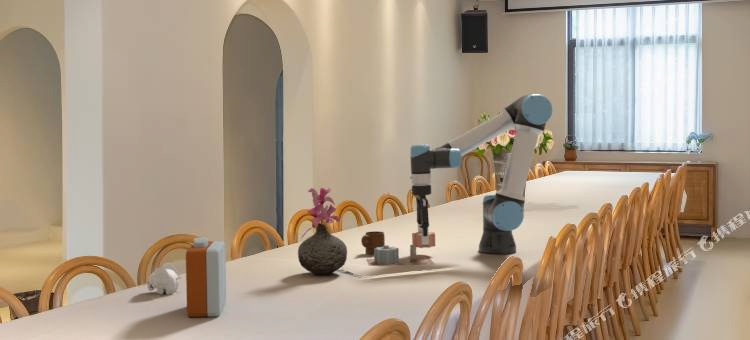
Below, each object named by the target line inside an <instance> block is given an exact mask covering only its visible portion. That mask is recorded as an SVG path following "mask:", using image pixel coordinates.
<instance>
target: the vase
mask: <svg viewBox="0 0 750 340" xmlns="http://www.w3.org/2000/svg"><path fill="white" fill-rule="evenodd" d="M307 192H308V193H311V197H312V203H313V205H314V207H312V208H310V209H308V210H307V213H308V214H309V215H310V216H311V217H313V218H312V219H311V220H312V224H311V227H310V228H308V229H307V230H305V231H306V232H304V233H303V234H302V236H301V238H300V240H302V239H303V238H304V236H305V235H306V233H308V232H309V231H310V230H311V229H315V232H314V234H312V235H311V236H309V237H307V238H306V239H305V240H303V241H302V242H301V243H300V244H299V246H298V249H297V257H298V258H297V259H298V262H299V264H300V266H301V267H302V268H303V269H305V270H306V271H308V272H310V273H311V274H312V275H313V276H316V277H327V276H332V275H333V274H334V273H335V272H337V271H339V270H340V269H341V268H343V266H344V265H345V264H346V262H347V257H348V249H347V245H346V243H345V242H344V241H343V240H342V239H341V238H339V237H337V236H335V235H333V234H332V233H330V232H329V231H328V228H327V227H326V224H332V223H333V220H334V221H336V222H337V223H339V222H340V216H339V215H332V214H333V213H334V212H336V211H337V209H336V208H335V206H336V203H335V202H334V200H333V198H332V197H330V196H327V194H329V193H331V188H330V187H328V189H326V188H323V187H320V188H319V193H318V192H317V190H316V189H315V188H312V187H311V188H309V190H307ZM325 202H330V204H329V205H328V204H327V205H325V207H324V204H325ZM332 204H333V205H334V206H332ZM323 221H325V222H324V223H325V224H324V223H323ZM316 224H317V226H316Z"/></svg>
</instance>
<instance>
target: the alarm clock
mask: <svg viewBox="0 0 750 340" xmlns="http://www.w3.org/2000/svg"><path fill="white" fill-rule="evenodd" d="M226 268H227V266H226V243H225V241H223V240H220V241H219V240H216V241H215V240H214V241H209V238H208V237H195V238H193V244H192V245H191V246H190V247H189V248H188V249H187V250H186V252H185V278H186V279H185V282H186V315H187V317H188V318H213V317H214V318H215V317H217V318H218V317H220V315H221V313H222V311H223V309H224V307H225V305H226V302H227V274H226V273H227V271H226V270H227V269H226Z"/></svg>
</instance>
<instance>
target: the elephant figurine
mask: <svg viewBox="0 0 750 340" xmlns="http://www.w3.org/2000/svg"><path fill="white" fill-rule="evenodd" d="M179 279H182V276H178V269H177V268H176V266H175V265H174V264H173V263H172V262H171V261H170V262H165V263H164V264H163V265H162V266H160V267H157V268H155V269H154V271H153V272H152V273H151V274H150V277H149V279H148V280H147V281H146V282H144V283H143V284H142V287H144V286H145V285H146V286H147V290H148V291H153V290H155V289H156V292H157V294H158V295H163V294H165V293H166V294H165V295H173V294H174V293H175V292H177V290H178V289H179V285H180V280H179Z"/></svg>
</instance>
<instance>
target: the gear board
mask: <svg viewBox="0 0 750 340" xmlns="http://www.w3.org/2000/svg"><path fill="white" fill-rule="evenodd" d="M389 247H390V245H389V244H387V245H386V244H385V245H384V246H383V249H389ZM409 247H410V248H409V255H410V256H409V257H402V258H401V257H400V258H399V262H397V263H389V264H385V263H380V264H379V263H377V262H374V258H366V259H365V260H366V262H367V264H368V266H369V267H370V266H374V267H375V266H406V265H407V266H410V265H411V266H413V265H415V266H416V265H417V266H418V265H435V263H434V261H433V260H432V259H431V258H430V257H417V247H416V245H412V244H410V246H409Z"/></svg>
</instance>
